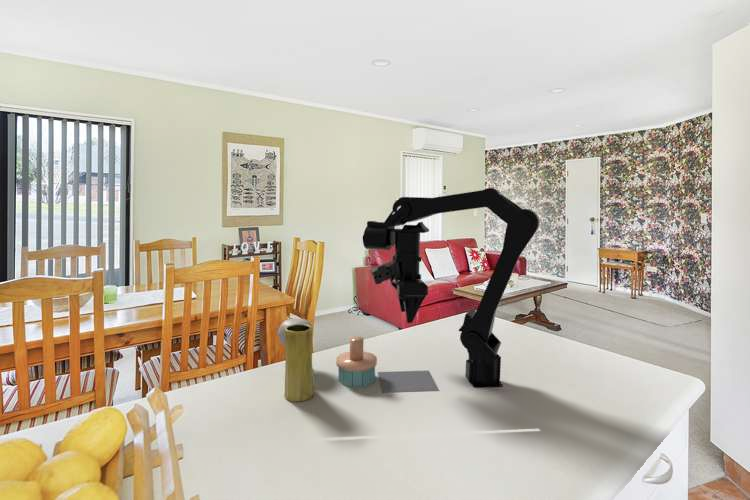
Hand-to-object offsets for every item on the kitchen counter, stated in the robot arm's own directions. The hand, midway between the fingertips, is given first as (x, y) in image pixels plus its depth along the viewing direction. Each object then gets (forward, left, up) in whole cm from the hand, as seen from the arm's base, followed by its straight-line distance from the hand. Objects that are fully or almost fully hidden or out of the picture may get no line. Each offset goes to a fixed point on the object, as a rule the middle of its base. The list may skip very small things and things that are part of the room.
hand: (406, 316), depth 95 cm
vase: (+24, +12, -13) cm, 30 cm away
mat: (+1, +8, -12) cm, 15 cm away
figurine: (+26, -1, -13) cm, 29 cm away
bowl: (+12, +6, -12) cm, 18 cm away
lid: (+12, +6, -8) cm, 16 cm away
